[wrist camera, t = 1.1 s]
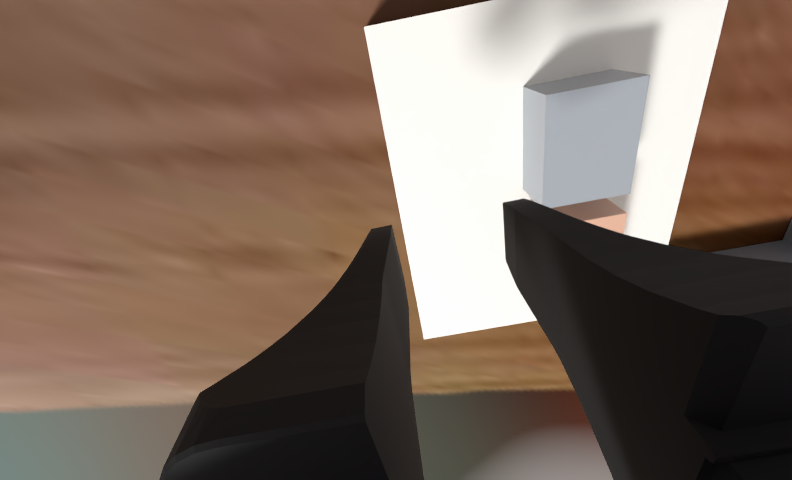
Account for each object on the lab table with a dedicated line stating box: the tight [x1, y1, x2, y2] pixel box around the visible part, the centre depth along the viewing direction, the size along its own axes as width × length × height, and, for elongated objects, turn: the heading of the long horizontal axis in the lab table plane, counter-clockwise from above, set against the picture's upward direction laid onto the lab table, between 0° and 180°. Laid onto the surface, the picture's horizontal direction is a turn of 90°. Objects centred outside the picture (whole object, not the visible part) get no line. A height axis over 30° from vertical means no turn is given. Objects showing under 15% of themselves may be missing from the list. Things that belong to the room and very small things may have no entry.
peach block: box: [552, 198, 627, 234], centre depth 19 cm, size 4×5×2 cm
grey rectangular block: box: [523, 69, 650, 208], centre depth 16 cm, size 4×5×2 cm
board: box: [364, 0, 728, 339], centre depth 20 cm, size 15×18×2 cm
